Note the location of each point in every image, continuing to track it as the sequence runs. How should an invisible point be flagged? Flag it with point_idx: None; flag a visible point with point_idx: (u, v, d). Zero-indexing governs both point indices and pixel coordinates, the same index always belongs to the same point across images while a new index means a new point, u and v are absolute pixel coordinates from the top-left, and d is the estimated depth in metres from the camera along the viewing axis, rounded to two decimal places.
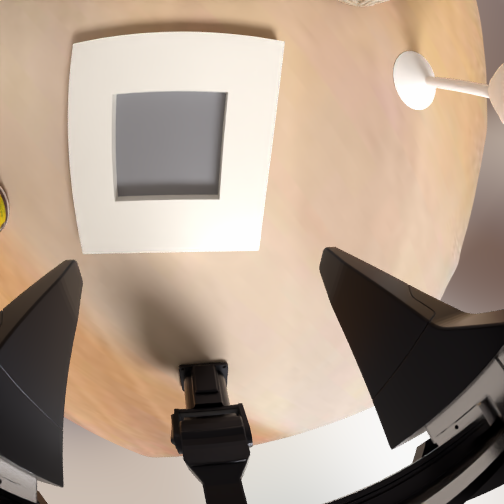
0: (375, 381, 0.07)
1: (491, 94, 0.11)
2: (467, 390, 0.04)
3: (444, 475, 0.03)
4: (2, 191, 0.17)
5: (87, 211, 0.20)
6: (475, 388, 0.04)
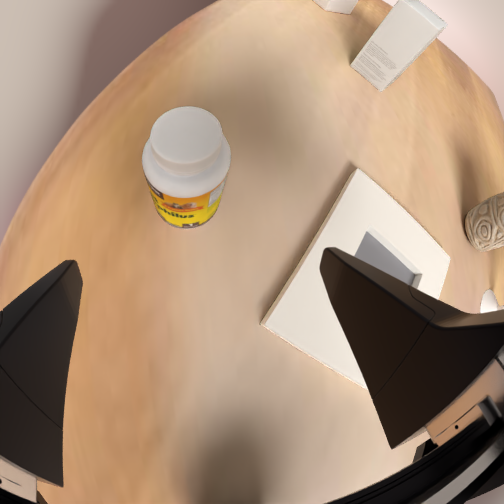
0: (375, 381, 0.07)
1: None
2: (467, 390, 0.04)
3: (444, 475, 0.03)
4: None
5: (303, 291, 0.22)
6: (475, 388, 0.04)
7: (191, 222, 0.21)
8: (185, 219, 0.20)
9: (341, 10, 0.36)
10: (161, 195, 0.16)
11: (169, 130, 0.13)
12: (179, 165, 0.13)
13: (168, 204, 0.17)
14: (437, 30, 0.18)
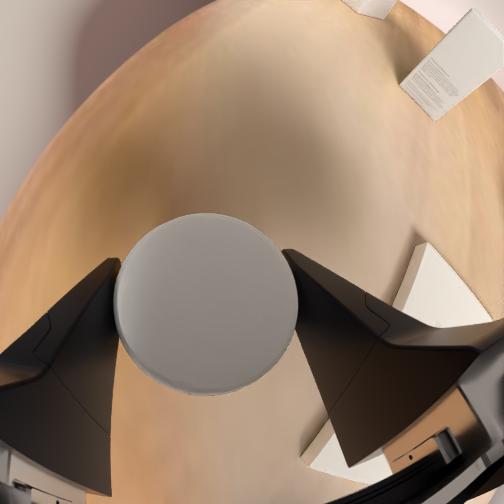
0: (329, 395, 0.07)
1: None
2: (424, 418, 0.04)
3: (444, 475, 0.03)
4: None
5: None
6: (433, 417, 0.04)
7: None
8: None
9: (375, 14, 0.29)
10: None
11: (163, 298, 0.05)
12: (200, 390, 0.05)
13: None
14: None
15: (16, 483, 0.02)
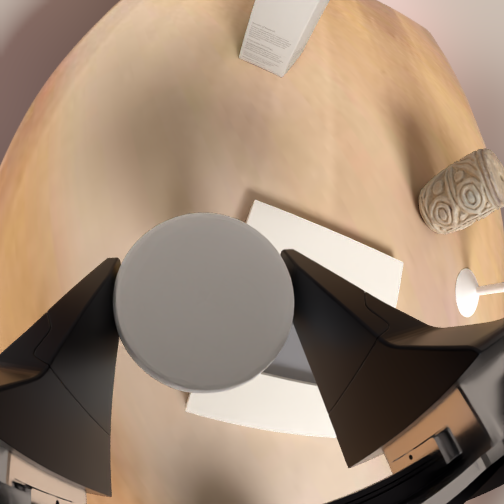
0: (329, 395, 0.07)
1: None
2: (424, 417, 0.04)
3: (444, 475, 0.03)
4: None
5: None
6: (433, 417, 0.04)
7: None
8: None
9: None
10: None
11: (161, 296, 0.05)
12: (197, 388, 0.06)
13: None
14: None
15: (16, 483, 0.02)
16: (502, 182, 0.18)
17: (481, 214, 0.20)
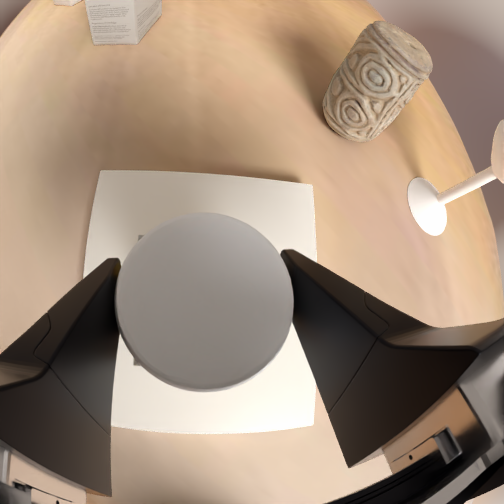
0: (329, 395, 0.07)
1: (497, 169, 0.14)
2: (424, 418, 0.04)
3: (444, 475, 0.03)
4: None
5: None
6: (433, 417, 0.04)
7: None
8: None
9: None
10: None
11: (161, 296, 0.06)
12: (196, 386, 0.06)
13: None
14: None
15: (16, 483, 0.02)
16: (413, 49, 0.13)
17: (400, 95, 0.16)
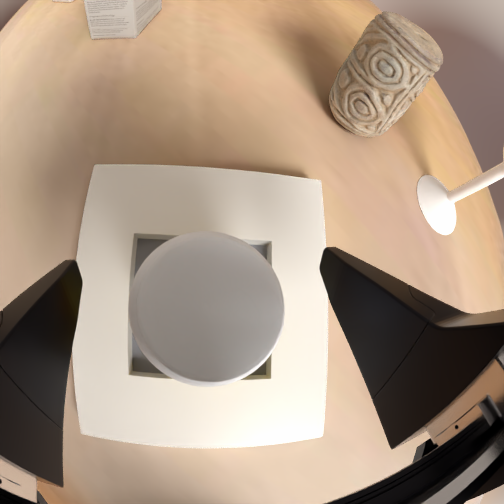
0: (375, 381, 0.07)
1: None
2: (467, 390, 0.04)
3: (444, 475, 0.03)
4: None
5: (91, 381, 0.13)
6: (475, 388, 0.04)
7: None
8: None
9: None
10: None
11: (174, 305, 0.07)
12: (202, 380, 0.07)
13: None
14: None
15: None
16: (423, 40, 0.12)
17: (411, 87, 0.15)
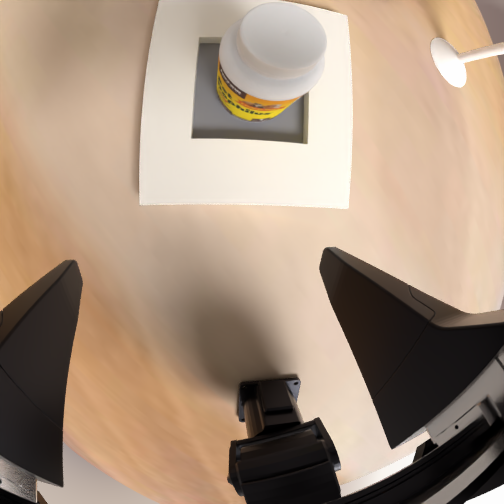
0: (375, 381, 0.07)
1: None
2: (467, 390, 0.04)
3: (444, 475, 0.03)
4: None
5: (156, 149, 0.18)
6: (475, 388, 0.04)
7: (264, 118, 0.17)
8: (259, 115, 0.16)
9: None
10: (243, 95, 0.13)
11: (264, 28, 0.09)
12: (278, 70, 0.10)
13: (247, 103, 0.14)
14: None
15: None
16: None
17: None
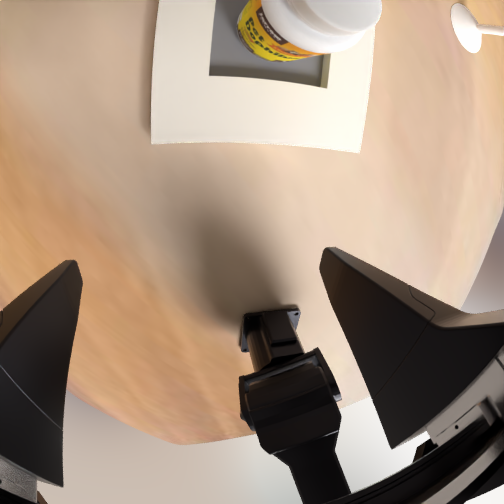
0: (375, 381, 0.07)
1: None
2: (467, 390, 0.04)
3: (444, 475, 0.03)
4: None
5: (169, 86, 0.15)
6: (475, 388, 0.04)
7: (288, 60, 0.15)
8: (285, 59, 0.14)
9: None
10: (282, 41, 0.10)
11: None
12: (334, 29, 0.08)
13: (282, 49, 0.11)
14: None
15: None
16: None
17: None
